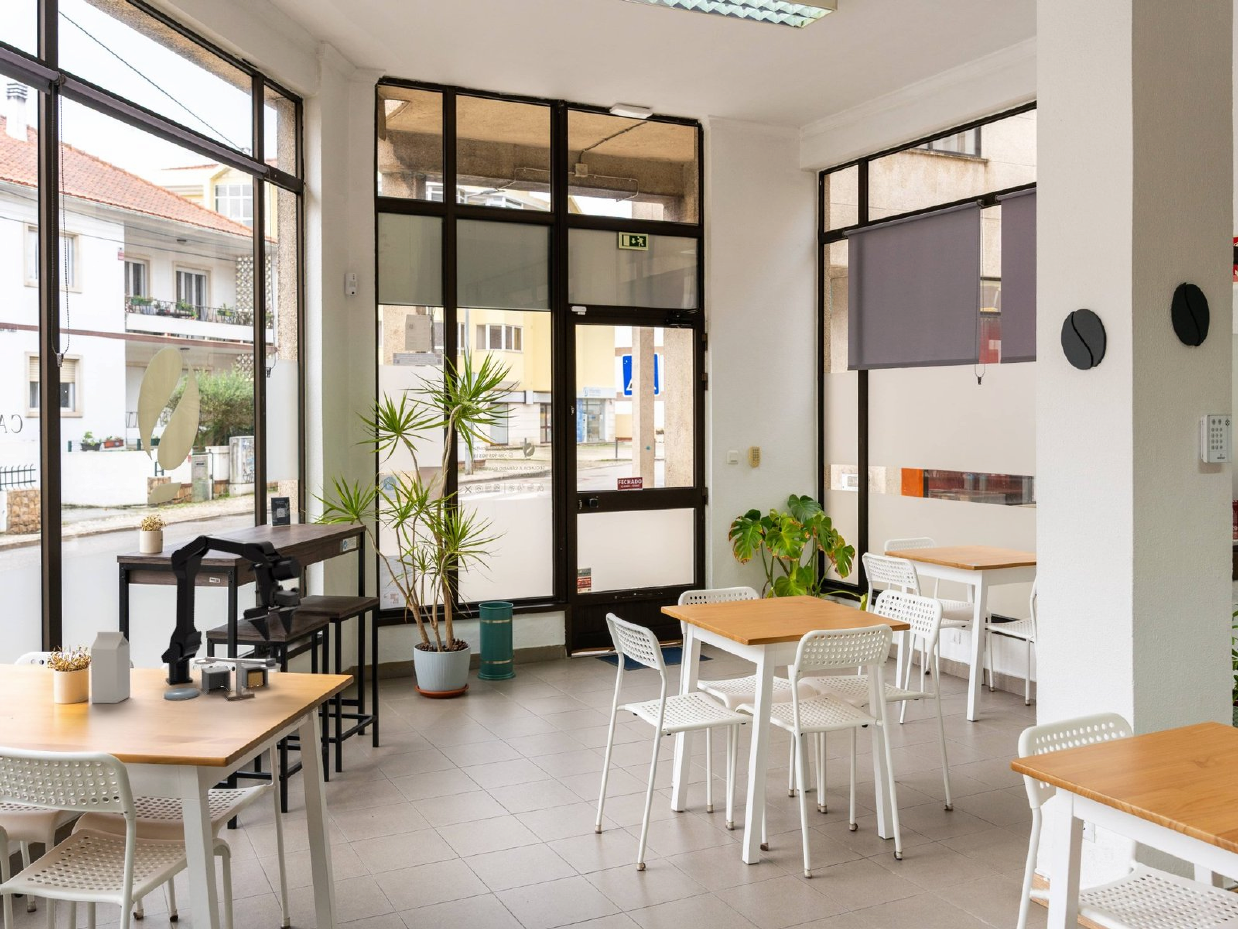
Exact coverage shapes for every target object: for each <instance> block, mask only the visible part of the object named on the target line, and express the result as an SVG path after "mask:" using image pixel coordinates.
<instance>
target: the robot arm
mask: <svg viewBox="0 0 1238 929" xmlns="http://www.w3.org/2000/svg"><path fill="white" fill-rule="evenodd" d="M211 550H212V551H216V552H222V553H226V554H233V555H236V556H240V557H241V558H243V559H244V560H247V561H249V562H251V564H250V566H249V567H248V569H247V570H246V572H247V573H252V572H254V577H255V581H256V587H257V590H255V591H254V593H255V595H258V596H259V602H260V604H257V606H254V607H250V608H247V609H244V611H243V613H242V616H243V620H244V621H246V620H247V623H250V624H252V626H253V627H254V628H255V629H256V630H257V631H258V632H259V634H260V635H261V636H262V638H263V639H264V640H265V641H266V642H269V641H270V640H271V637H270V636H271V635H270V634H271V633H270V630H269V620H270V617H271V615H269V613H272V612H274V611H277V616H278V618H279V620H280V623H281V625H282V627H283V630H284V631H285V633H286V635H291V634H292V624H293V619H294V614H295V613H296V612H297V610H299V609H300V608H299V606H302V603H301V598H302V592H301V590H300V587H297V586H294V587H291V588H290V589H288V590H286V589H284V586H283V585H282V584H280V585H279V582H284V581H289V580H295V579H298V578H300V577H301V576H302V572H303V568H302V564H301V563H300V561H299V560H298V559H297V558H296V556H295V554H291V555H286V556H285V557H284V556H283V555H282V554H281V553H280V552H279V551H278V549H276V548H275V546H274V545H273V542H272V541H269V540H251V541H249V540H247V541H245V540H240V539H235V538H231V537H230V538H229V537H224V536H218V535H214V534H212V533H207V534H200V535H198V536H197V537H196V538H195V539H193V540H192V541H190V542H189V543H187V544H185V545H183V546H182V547H181V548H180V549H176V550H175V551H174V552H172V553H171V556H170V563H171V570H172V572H173V574H174V575H175V578H176V610H175V611H176V612H175V613H176V618H175V619H176V620H175V622H176V623H175V628H174V629H173V632H172V634H171V636H170V641H169V646H168V648H167V649H166V650H165V652H163V653H162V654H161V656H160V658H161V661H162V663H163V664H168V677H166V678H165V681H166V682H167V683H168V684H169V685H174V684H175V685H176V684H182V683H191V682H194V679H193V677H191V676H190V675H191V674H190V673H191V672H190V670H191V669H190V668H191V667H190V666H191V665H190V660H192V659H196V657H197V656H196V655H197V653H198V651H199V650H200V649H201V645H203V642H202V634H203V633H202V631H201V630H199V631H198V630H197V628H196V626H195V600H196V599H195V598H196V596H195V595H196V594H195V593H196V577H197V575H198V573H199V571H200V569H201V565H202V560H203V558H204V557H206V556H207V555H208V554H209V552H210V551H211ZM270 564H271V565H270Z"/></svg>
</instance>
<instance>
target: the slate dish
mask: <svg viewBox="0 0 1238 929" xmlns="http://www.w3.org/2000/svg"><path fill="white" fill-rule="evenodd" d="M197 695H198V696H199V695H200V690H199V689H198V688H194V687H192V688H191V687H184V688H183V687H182V688H181V687H180V688H175V689H170V690H167V691H165V692H164V693H163V698H164V699H165V700H168V699H169V701H179V700H178V699H180V701H183V700H187V699H186V698H189V699H193V698H196V697H198V696H197ZM195 696H196V697H195ZM182 699H183V700H182Z"/></svg>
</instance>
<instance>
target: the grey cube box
mask: <svg viewBox="0 0 1238 929" xmlns="http://www.w3.org/2000/svg"><path fill="white" fill-rule="evenodd" d="M231 672H232V671H231V669H230V668H228V667H227V666H225V665H221V666H214V667H213V666H212V667H206V668H201V690H202V691H203V692H204V691H205V692H206V693H207V694H206V695H210V689H209V688H211V689H216V687H219V688H222V687H221V686H224V687H225V688H224V687H223V688H224V689H226V688H227V689H228V690H229V691H228V690H227V689H226V690H227V691H228V692H231V691H232V690H231V686H232V685H231V684H232V683H231V679H232V678H231V674H232V673H231ZM230 690H231V691H230ZM205 692H204V693H205Z"/></svg>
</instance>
